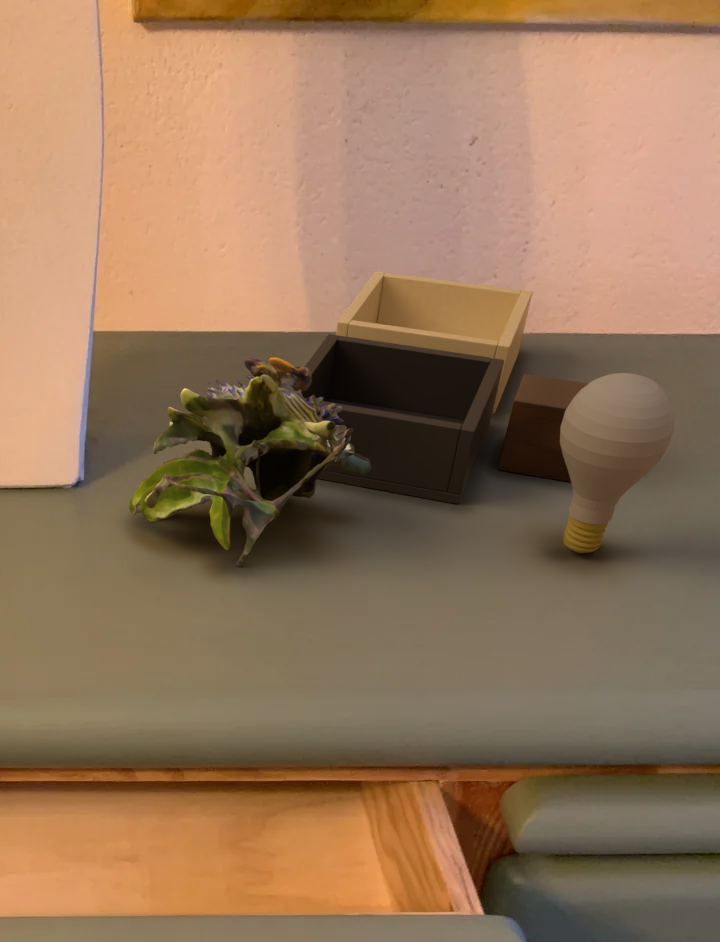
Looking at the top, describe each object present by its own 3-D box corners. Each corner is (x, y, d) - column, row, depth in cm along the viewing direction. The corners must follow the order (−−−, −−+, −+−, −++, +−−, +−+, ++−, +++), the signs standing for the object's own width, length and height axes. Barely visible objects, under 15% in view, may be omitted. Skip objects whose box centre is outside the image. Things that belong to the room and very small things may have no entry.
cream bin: (518, 354, 87) (533, 291, 83) (494, 414, 79) (510, 346, 75) (366, 332, 90) (375, 270, 87) (328, 387, 82) (337, 321, 79)
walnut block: (578, 452, 74) (598, 384, 71) (571, 482, 71) (591, 412, 68) (507, 441, 75) (524, 373, 72) (497, 469, 72) (513, 400, 69)
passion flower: (258, 581, 73) (392, 429, 67) (250, 650, 63) (405, 481, 57) (116, 468, 70) (243, 300, 64) (86, 523, 61) (231, 333, 55)
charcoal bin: (489, 428, 77) (504, 359, 74) (458, 504, 69) (474, 431, 66) (320, 400, 80) (328, 333, 77) (272, 470, 72) (279, 399, 69)
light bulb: (523, 566, 64) (571, 388, 57) (534, 521, 67) (580, 349, 61) (626, 585, 62) (688, 405, 56) (631, 538, 66) (690, 364, 59)
